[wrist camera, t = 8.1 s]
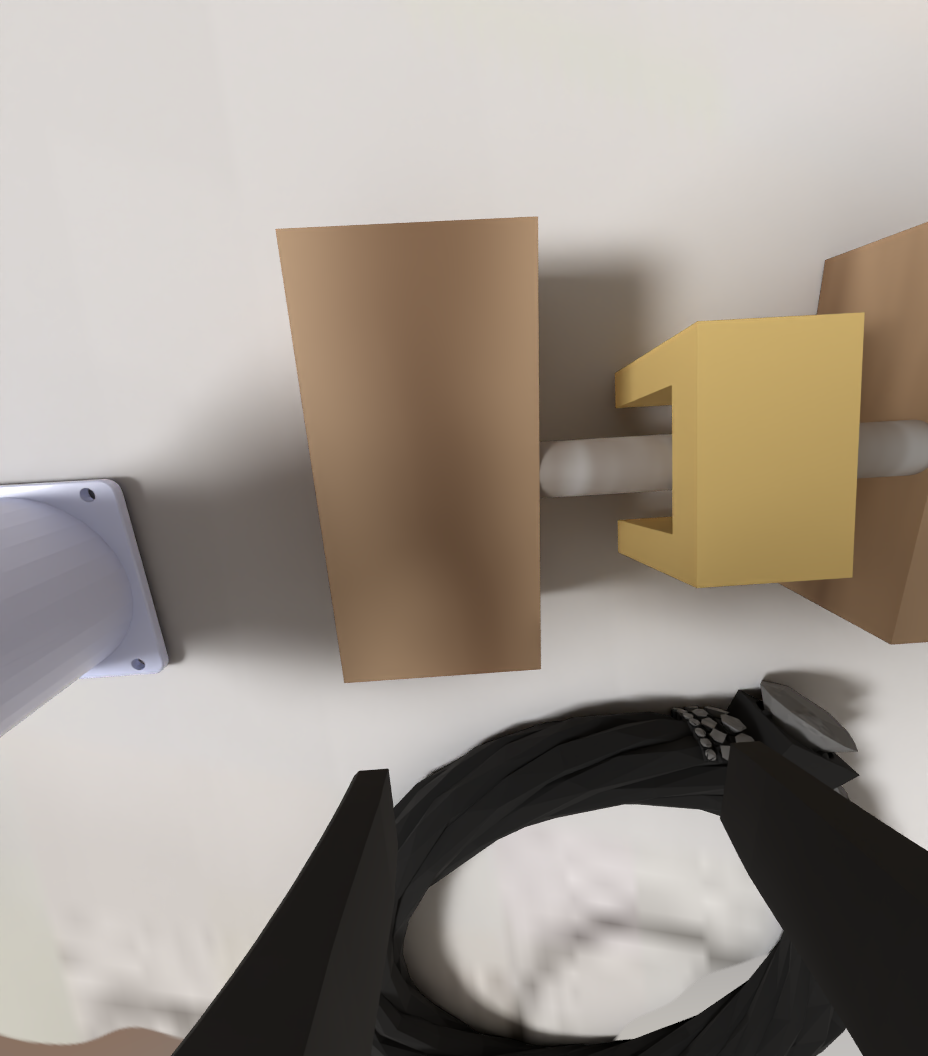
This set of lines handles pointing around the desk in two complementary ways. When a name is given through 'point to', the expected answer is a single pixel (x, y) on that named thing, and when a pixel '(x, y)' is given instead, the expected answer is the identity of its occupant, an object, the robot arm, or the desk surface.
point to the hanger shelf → (536, 440)
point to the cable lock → (590, 784)
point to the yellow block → (753, 449)
